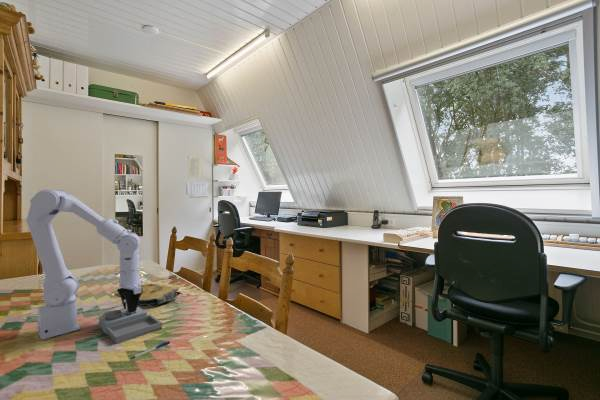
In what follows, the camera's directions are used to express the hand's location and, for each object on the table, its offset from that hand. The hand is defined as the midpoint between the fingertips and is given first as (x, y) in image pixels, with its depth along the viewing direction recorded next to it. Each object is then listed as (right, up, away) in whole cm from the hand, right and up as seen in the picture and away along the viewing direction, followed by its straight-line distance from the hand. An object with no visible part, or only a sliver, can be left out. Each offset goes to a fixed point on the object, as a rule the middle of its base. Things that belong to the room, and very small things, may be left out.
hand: (130, 310), depth 100 cm
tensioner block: (-1, -4, -1) cm, 4 cm away
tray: (+5, -4, -7) cm, 9 cm away
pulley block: (-5, -4, +23) cm, 24 cm away
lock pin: (0, -4, 0) cm, 4 cm away
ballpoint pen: (+16, -5, -18) cm, 25 cm away
